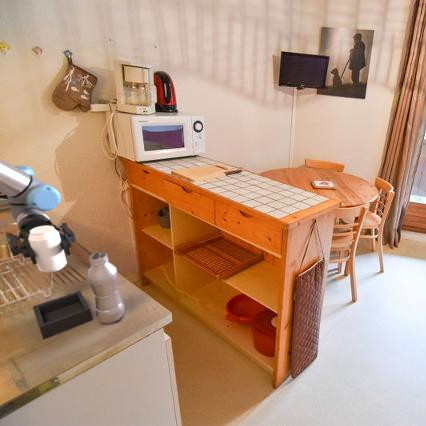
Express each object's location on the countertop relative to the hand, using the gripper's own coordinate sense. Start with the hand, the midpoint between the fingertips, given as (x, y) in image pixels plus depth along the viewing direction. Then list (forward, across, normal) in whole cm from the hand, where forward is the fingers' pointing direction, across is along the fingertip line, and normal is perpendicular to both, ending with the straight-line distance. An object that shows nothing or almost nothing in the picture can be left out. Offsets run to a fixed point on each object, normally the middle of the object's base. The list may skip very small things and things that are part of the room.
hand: (51, 254), depth 82 cm
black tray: (+4, +1, -18) cm, 18 cm away
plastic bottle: (+12, -8, -18) cm, 23 cm away
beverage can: (-5, 0, -7) cm, 8 cm away
